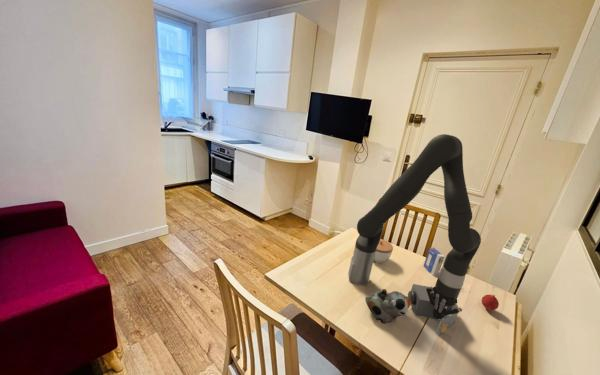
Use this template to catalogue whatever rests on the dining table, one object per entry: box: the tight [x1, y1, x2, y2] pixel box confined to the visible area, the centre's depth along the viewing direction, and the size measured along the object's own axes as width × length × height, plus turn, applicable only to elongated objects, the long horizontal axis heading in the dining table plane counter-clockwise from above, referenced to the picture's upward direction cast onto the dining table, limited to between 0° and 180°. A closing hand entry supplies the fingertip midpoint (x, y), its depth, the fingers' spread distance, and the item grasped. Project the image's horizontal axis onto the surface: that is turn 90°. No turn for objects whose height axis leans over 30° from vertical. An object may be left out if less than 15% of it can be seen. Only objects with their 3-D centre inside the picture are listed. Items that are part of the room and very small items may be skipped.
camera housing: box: [407, 283, 453, 321], centre depth 102 cm, size 16×9×9 cm, turn 83°
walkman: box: [423, 247, 445, 277], centre depth 127 cm, size 8×3×12 cm, turn 11°
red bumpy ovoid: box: [481, 294, 500, 311], centre depth 106 cm, size 6×6×8 cm
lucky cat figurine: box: [365, 288, 412, 324], centre depth 97 cm, size 15×12×14 cm
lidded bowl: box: [373, 238, 394, 264], centre depth 133 cm, size 13×13×11 cm
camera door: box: [436, 313, 459, 335], centre depth 93 cm, size 12×2×7 cm, turn 123°
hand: (436, 317), depth 94 cm, fingers closed
